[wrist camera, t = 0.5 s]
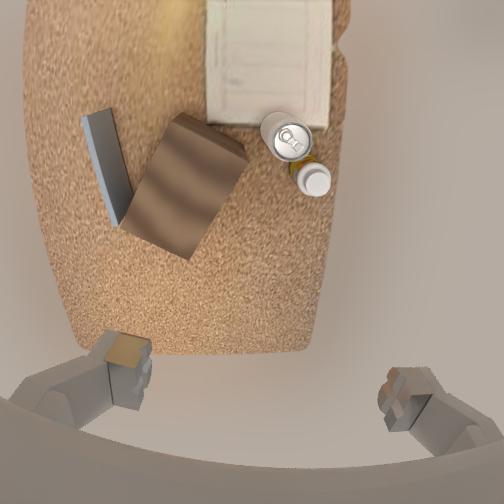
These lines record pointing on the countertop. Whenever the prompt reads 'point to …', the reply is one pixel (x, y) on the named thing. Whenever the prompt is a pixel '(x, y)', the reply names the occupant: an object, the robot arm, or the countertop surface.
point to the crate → (184, 186)
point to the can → (286, 136)
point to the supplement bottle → (310, 176)
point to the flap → (108, 163)
